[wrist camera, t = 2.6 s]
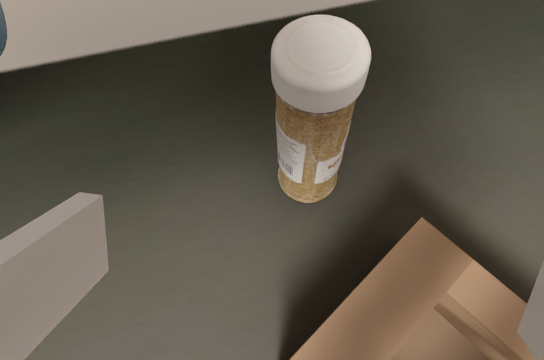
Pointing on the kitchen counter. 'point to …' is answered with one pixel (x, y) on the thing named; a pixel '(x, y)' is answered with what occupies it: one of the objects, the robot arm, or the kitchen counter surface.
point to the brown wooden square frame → (423, 309)
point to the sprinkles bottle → (315, 100)
